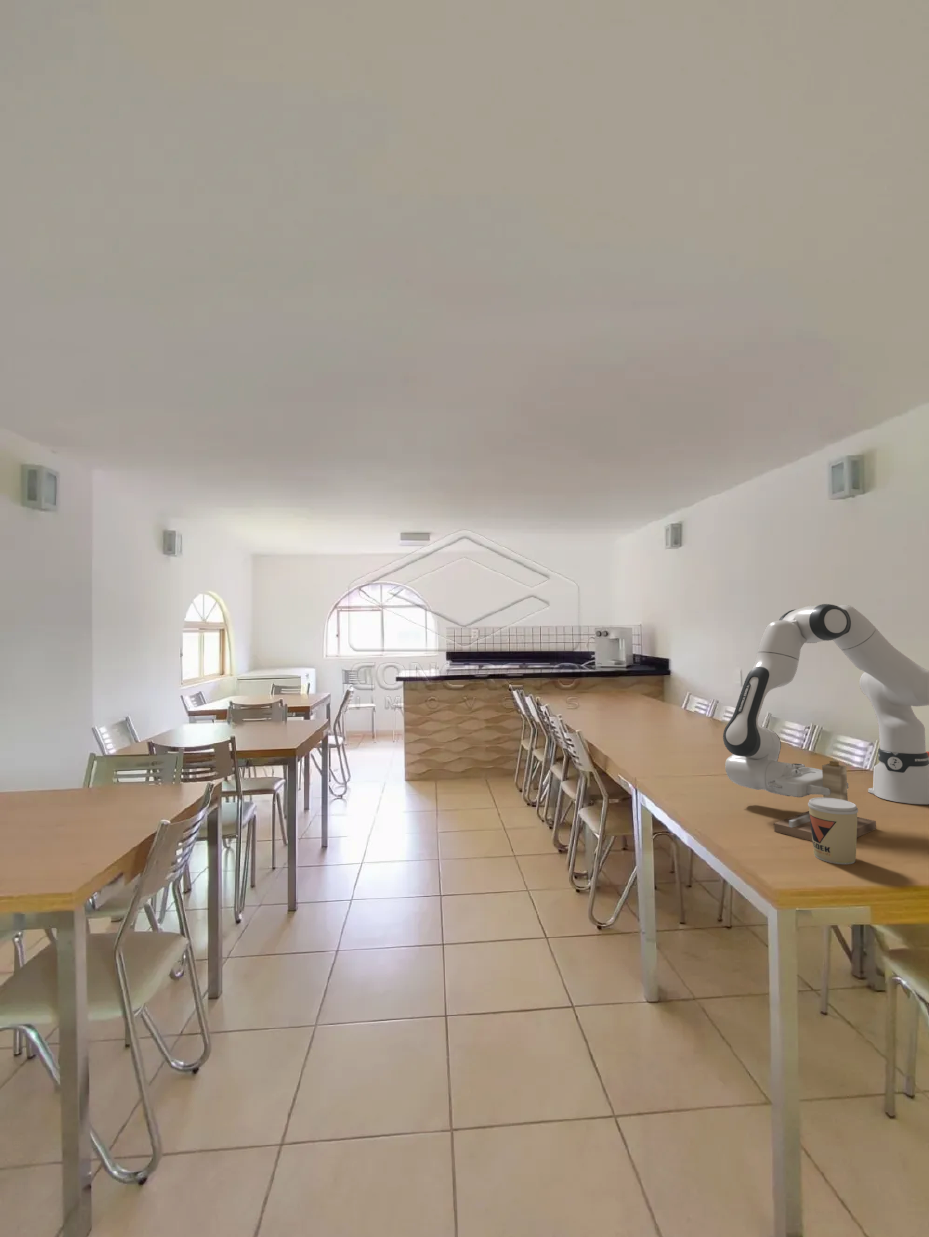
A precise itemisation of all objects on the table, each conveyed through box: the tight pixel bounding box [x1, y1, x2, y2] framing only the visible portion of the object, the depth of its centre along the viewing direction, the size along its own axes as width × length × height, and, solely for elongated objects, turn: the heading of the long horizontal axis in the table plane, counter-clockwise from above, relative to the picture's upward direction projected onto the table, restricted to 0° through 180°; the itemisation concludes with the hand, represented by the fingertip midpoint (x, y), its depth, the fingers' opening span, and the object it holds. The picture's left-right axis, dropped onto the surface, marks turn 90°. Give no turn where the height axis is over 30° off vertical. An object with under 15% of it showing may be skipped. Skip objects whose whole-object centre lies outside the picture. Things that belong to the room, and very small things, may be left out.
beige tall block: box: [821, 760, 849, 801], centre depth 150 cm, size 4×5×14 cm
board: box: [773, 810, 877, 842], centre depth 146 cm, size 22×14×4 cm, turn 124°
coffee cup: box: [807, 797, 859, 865], centre depth 128 cm, size 9×9×12 cm
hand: (838, 789), depth 149 cm, fingers open, 8 cm apart
